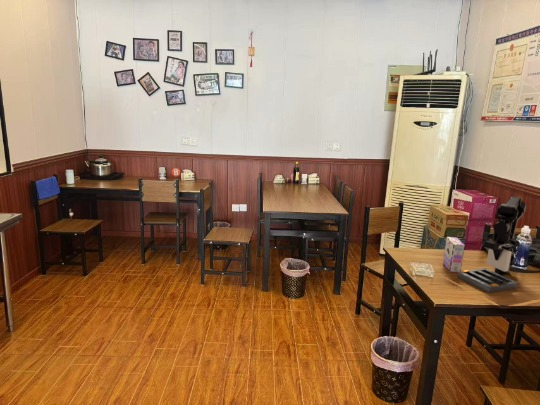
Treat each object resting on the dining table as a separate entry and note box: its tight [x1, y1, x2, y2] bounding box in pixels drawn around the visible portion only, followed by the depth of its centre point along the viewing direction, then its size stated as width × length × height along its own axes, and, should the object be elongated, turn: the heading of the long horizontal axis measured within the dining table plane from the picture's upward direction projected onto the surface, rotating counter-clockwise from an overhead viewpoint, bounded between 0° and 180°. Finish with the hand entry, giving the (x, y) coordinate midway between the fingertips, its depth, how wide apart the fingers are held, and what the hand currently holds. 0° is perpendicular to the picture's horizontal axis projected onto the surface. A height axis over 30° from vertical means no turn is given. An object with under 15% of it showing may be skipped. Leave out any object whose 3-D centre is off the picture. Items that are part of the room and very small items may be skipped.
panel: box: [486, 248, 512, 272], centre depth 181 cm, size 2×10×10 cm, turn 20°
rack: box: [457, 268, 519, 294], centre depth 182 cm, size 19×18×5 cm
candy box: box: [442, 236, 466, 273], centre depth 199 cm, size 14×6×16 cm, turn 168°
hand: (498, 259), depth 181 cm, fingers closed on panel, 2 cm apart
